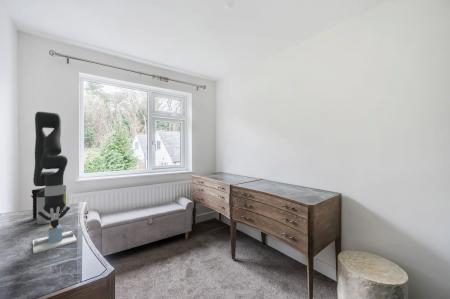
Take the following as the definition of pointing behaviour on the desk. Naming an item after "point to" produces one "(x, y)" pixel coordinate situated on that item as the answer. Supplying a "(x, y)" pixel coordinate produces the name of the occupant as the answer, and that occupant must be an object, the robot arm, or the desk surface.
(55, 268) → the desk surface
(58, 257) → the desk surface
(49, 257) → the desk surface
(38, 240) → the rail plate
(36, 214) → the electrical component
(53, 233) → the block
